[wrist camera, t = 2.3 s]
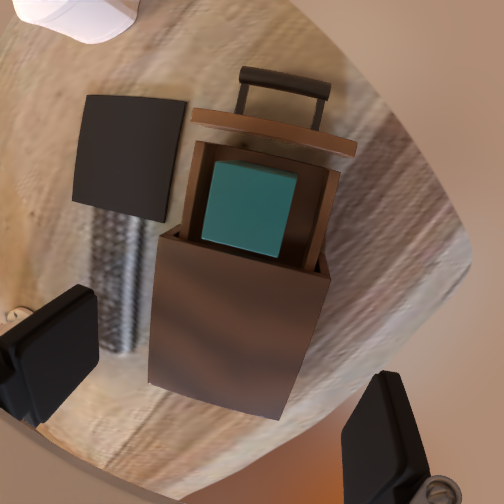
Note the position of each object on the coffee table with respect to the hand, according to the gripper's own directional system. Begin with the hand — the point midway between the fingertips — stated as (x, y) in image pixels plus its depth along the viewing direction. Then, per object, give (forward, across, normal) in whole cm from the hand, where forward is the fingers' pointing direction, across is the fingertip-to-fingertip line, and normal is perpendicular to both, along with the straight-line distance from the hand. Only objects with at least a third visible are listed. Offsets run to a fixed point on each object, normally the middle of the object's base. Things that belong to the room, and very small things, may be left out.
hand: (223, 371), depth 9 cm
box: (+19, +2, -3) cm, 19 cm away
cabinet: (+21, +2, +9) cm, 23 cm away
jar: (+21, +24, -22) cm, 39 cm away
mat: (+21, +17, -4) cm, 27 cm away
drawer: (+20, +2, -4) cm, 21 cm away
